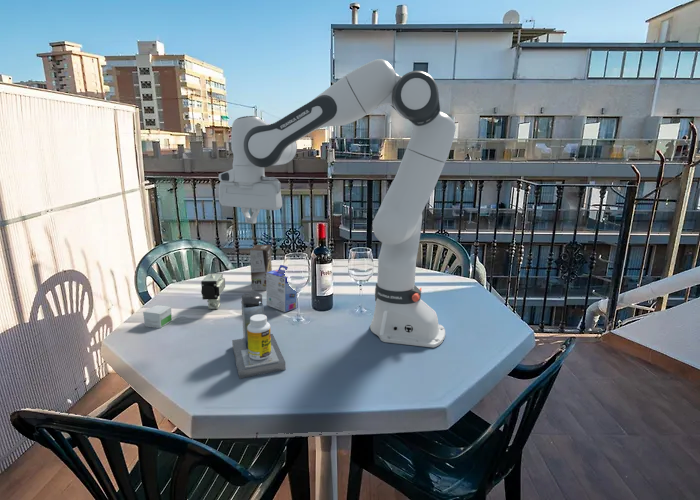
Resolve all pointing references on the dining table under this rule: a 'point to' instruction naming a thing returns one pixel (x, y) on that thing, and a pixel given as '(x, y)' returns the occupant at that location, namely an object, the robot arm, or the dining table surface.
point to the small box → (157, 316)
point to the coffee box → (260, 265)
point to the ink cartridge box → (279, 291)
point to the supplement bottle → (259, 337)
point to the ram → (252, 299)
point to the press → (240, 349)
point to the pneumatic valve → (213, 289)
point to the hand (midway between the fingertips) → (251, 222)
